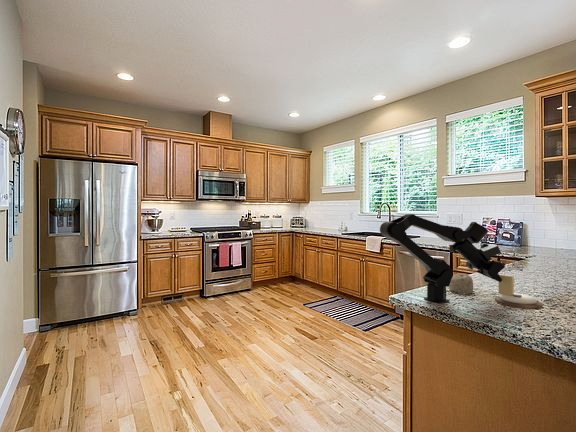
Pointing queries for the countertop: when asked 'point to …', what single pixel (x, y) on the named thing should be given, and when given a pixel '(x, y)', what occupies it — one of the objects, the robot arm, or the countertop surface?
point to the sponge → (461, 283)
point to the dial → (512, 292)
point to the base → (527, 306)
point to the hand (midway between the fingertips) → (500, 281)
